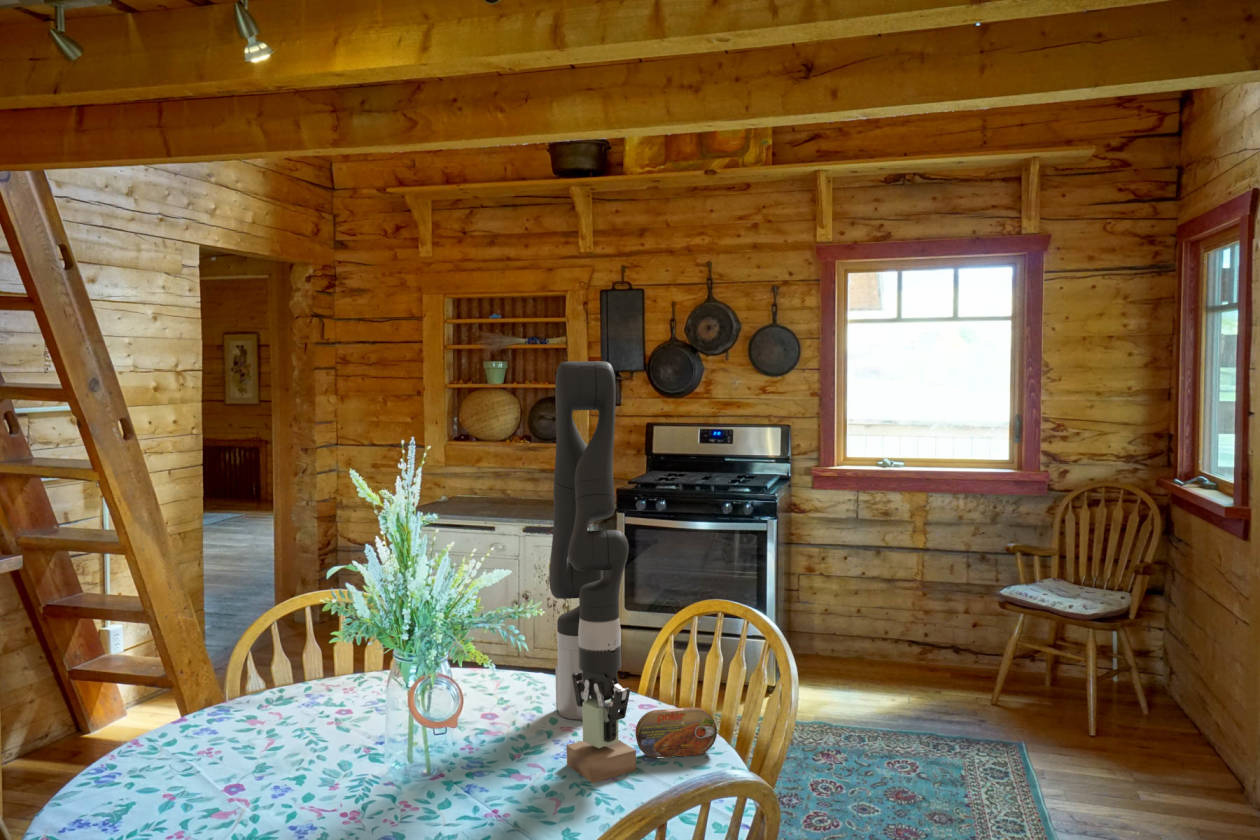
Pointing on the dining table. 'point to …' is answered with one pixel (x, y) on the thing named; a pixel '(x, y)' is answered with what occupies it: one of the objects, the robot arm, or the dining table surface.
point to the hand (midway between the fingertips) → (600, 736)
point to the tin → (675, 732)
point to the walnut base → (601, 760)
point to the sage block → (595, 724)
